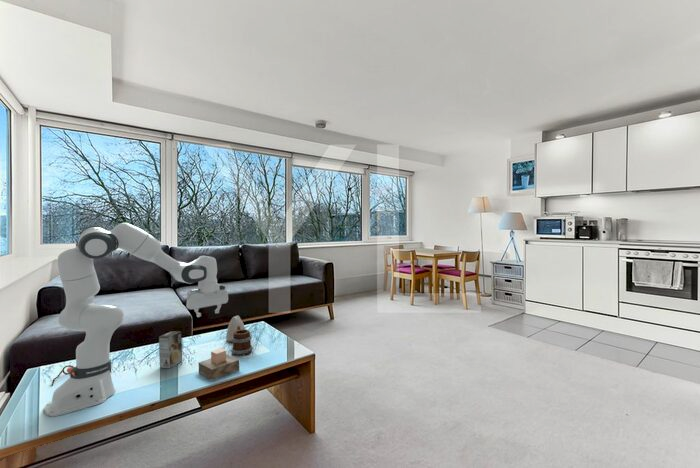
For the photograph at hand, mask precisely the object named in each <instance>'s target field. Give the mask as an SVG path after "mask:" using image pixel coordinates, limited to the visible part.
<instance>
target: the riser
mask: <svg viewBox="0 0 700 468" xmlns="http://www.w3.org/2000/svg"><path fill="white" fill-rule="evenodd" d="M239 370H240V359H238V358H236V357H234V356H232V355H230V354H227V353H226V361H224V362H221V363H218V364H215V363H213V362H211V358H207V359H205V360H201V361H200V362H198V373H199V374H200V375H201V376H204V377H206V378H207V379H209V380H211V381H214V380H217V379H219V377H220V378H222V377H224V375H225V376H226V374H227V375H229V373H230V374H232V373H234V371H235V372H237V371H239ZM231 372H232V373H231ZM221 376H222V377H221ZM216 378H217V379H216Z"/></svg>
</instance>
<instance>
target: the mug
mask: <svg viewBox="0 0 700 468" xmlns="http://www.w3.org/2000/svg"><path fill="white" fill-rule="evenodd" d="M252 338H253V337H252V335H251V332H250V330H249V329H245V330H240V326H237V331H235V332H234V333H233V337H232V342H231V343H232V347H231V350H230V352H231V355H233V356H236V357H243V356H247V355H250V354H251V353H252V351H253V348H254V347H253V345H252V343H251V342H252V341H251V340H252Z"/></svg>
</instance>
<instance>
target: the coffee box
mask: <svg viewBox="0 0 700 468" xmlns="http://www.w3.org/2000/svg"><path fill="white" fill-rule="evenodd" d="M182 337H183V335H182V331H179V330H178V331H176V330H174V331H173V330H171V331H169V332H166V333H164V334H162V335H160V336H158V350H159V351H158V352H159V353H158V355H159V368H163V369H164V368H165V369H172V368H173V367H175V366H176V365H179V363H181V362H183V342H182V341H183V340H182Z"/></svg>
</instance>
